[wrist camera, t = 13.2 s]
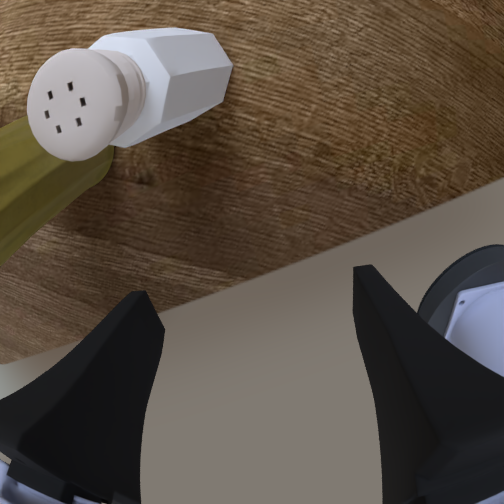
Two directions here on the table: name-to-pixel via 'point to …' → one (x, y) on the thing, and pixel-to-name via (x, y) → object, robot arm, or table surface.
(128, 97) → the pepper shaker
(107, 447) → the robot arm
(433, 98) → the table surface
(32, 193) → the vase
